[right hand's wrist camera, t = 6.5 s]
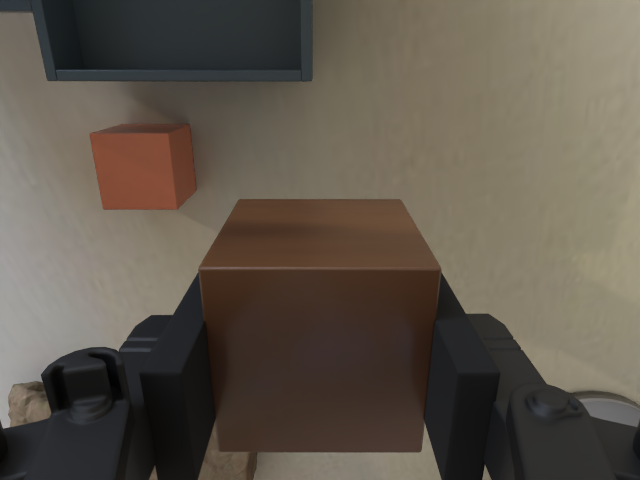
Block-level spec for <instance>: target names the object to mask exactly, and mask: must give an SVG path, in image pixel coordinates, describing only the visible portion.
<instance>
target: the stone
mask: <svg viewBox="0 0 640 480" xmlns="http://www.w3.org/2000/svg"><path fill="white" fill-rule="evenodd" d="M8 398H9V407H10V409H9V414H8V415H9V417H10V419H11V424H10V426H11V427H14V426H18V425H23V424H27V423H32V422H37V421H40V420H44V419H47V418H49V417H50V415H51V410H50V407H49V403H48V399H47V396H46V392H45V388H44V384H43V383H42V382H37V381H35V382H30V383H25V384H23V383H21V384H14V385H13V386H12V390H11V392H10V394H9V396H8ZM256 463H257V452H219V451H218V447H217V438H216V428H215V423H214V427H213V430H212V433H211V437H210V440H209V444H208V447H207V450H206V454H205V457H204V461H203V464H202V467H201V471H200V474H199V478H198V480H253V478H254V473H255V470H256ZM149 480H158V479H157V473H156V468H155V466H154V469H153V471H152V474H151V476H150V478H149Z"/></svg>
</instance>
